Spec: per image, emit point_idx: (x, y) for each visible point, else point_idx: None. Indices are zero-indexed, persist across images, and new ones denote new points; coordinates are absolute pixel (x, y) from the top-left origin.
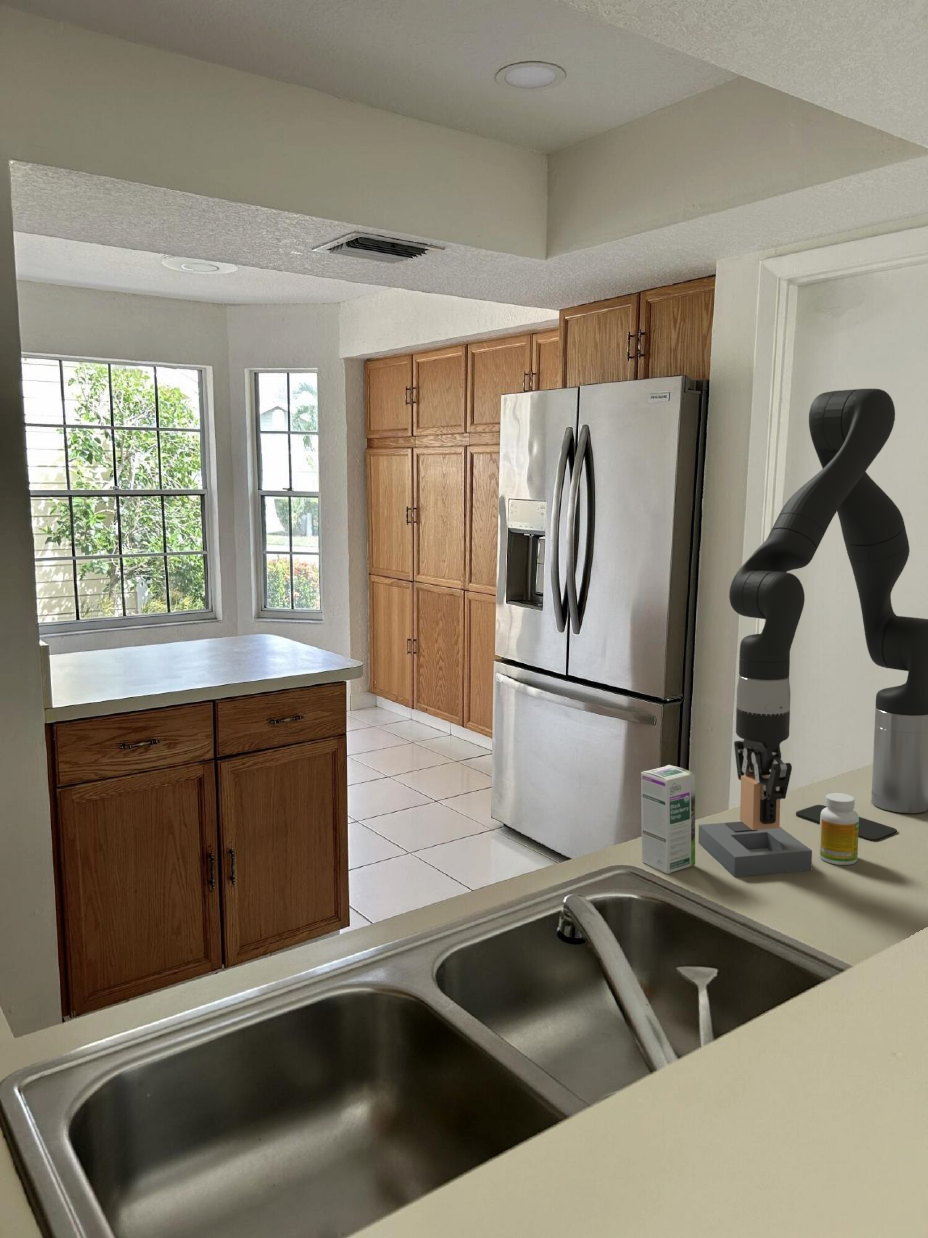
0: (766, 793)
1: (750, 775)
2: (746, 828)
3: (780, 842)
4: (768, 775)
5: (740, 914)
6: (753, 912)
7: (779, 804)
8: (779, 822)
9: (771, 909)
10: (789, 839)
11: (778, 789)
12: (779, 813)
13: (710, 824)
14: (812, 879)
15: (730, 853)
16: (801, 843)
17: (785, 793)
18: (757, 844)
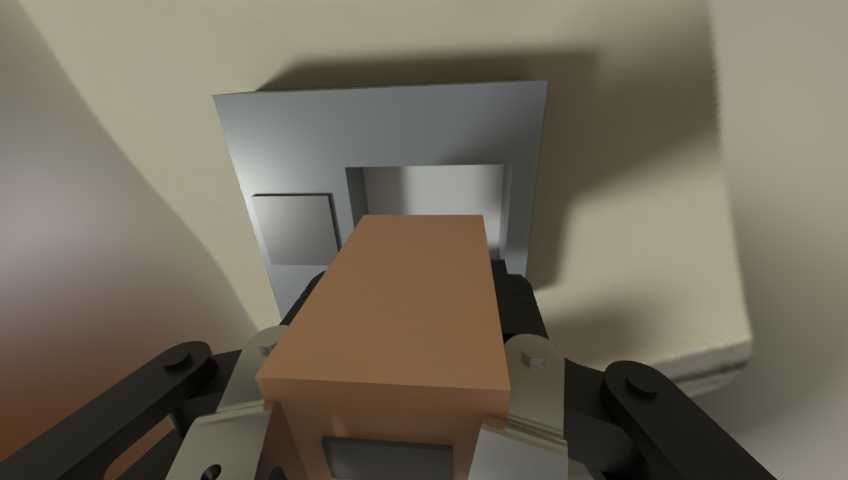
0: (589, 467)
1: (305, 475)
2: (319, 225)
3: (445, 165)
4: (302, 387)
5: (683, 357)
6: (689, 334)
7: (490, 274)
8: (483, 225)
9: (698, 297)
10: (423, 117)
11: (563, 397)
12: (486, 246)
13: (279, 299)
14: (594, 111)
15: None
16: (469, 88)
17: (700, 416)
18: (360, 186)
